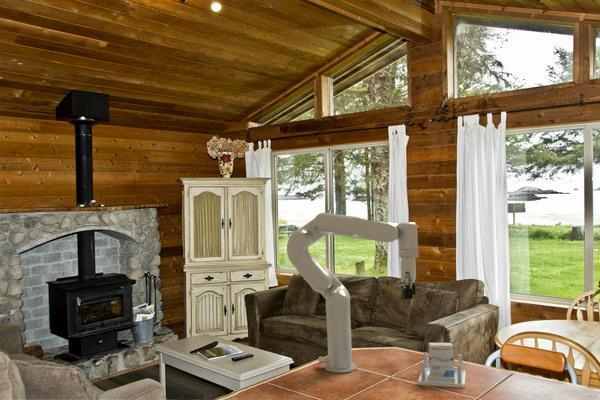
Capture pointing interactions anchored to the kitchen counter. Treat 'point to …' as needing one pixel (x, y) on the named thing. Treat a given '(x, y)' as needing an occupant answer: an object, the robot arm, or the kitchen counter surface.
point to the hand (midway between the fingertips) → (410, 296)
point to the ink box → (441, 359)
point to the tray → (442, 381)
